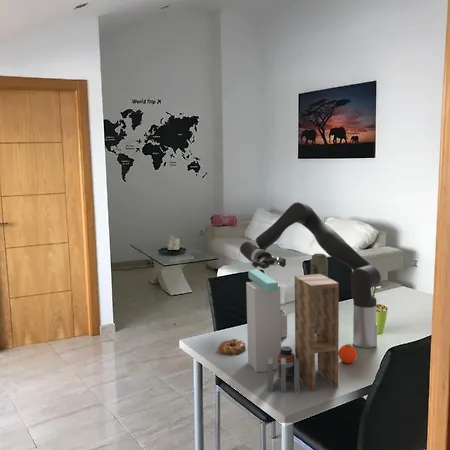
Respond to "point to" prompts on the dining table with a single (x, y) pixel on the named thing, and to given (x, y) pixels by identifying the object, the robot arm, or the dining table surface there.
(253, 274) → the block
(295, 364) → the domino
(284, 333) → the can
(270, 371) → the domino
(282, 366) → the domino
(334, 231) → the robot arm
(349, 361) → the clementine
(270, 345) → the block
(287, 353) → the supplement bottle
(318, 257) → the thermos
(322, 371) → the stand
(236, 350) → the braided bread ring
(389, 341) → the dining table surface
